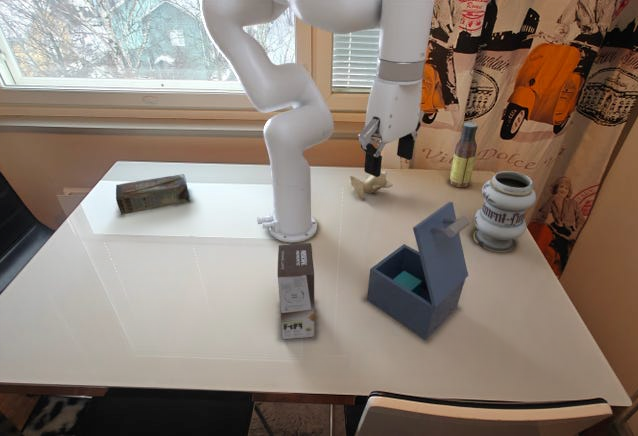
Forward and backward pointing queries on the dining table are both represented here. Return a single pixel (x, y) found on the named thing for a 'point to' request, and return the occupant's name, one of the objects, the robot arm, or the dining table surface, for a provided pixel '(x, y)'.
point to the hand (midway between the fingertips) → (388, 165)
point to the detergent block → (409, 282)
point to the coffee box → (296, 290)
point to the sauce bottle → (464, 156)
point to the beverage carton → (152, 194)
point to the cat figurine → (369, 184)
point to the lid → (441, 251)
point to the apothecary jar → (503, 210)
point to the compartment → (408, 293)
